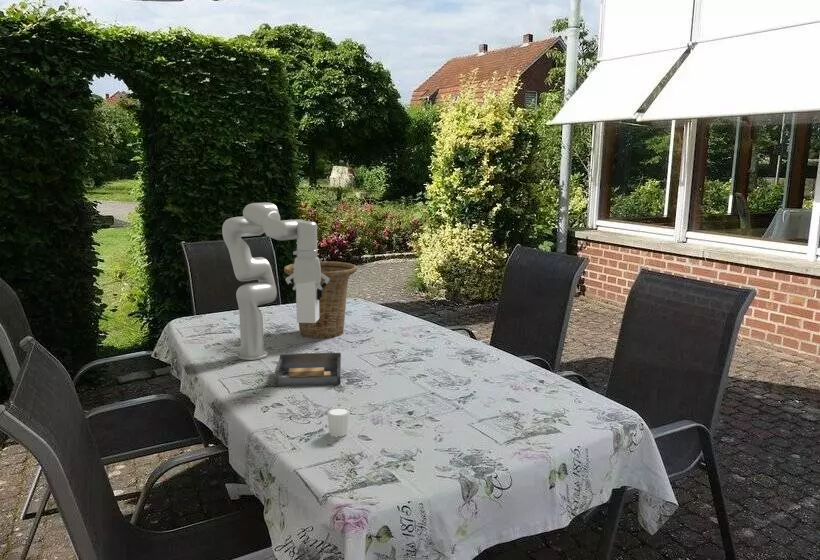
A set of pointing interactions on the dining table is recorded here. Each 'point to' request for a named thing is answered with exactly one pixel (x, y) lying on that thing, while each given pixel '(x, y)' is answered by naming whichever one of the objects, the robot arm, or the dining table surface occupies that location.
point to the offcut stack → (308, 372)
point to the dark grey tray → (308, 361)
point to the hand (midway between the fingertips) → (307, 299)
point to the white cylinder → (338, 421)
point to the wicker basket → (329, 300)
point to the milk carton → (307, 302)
